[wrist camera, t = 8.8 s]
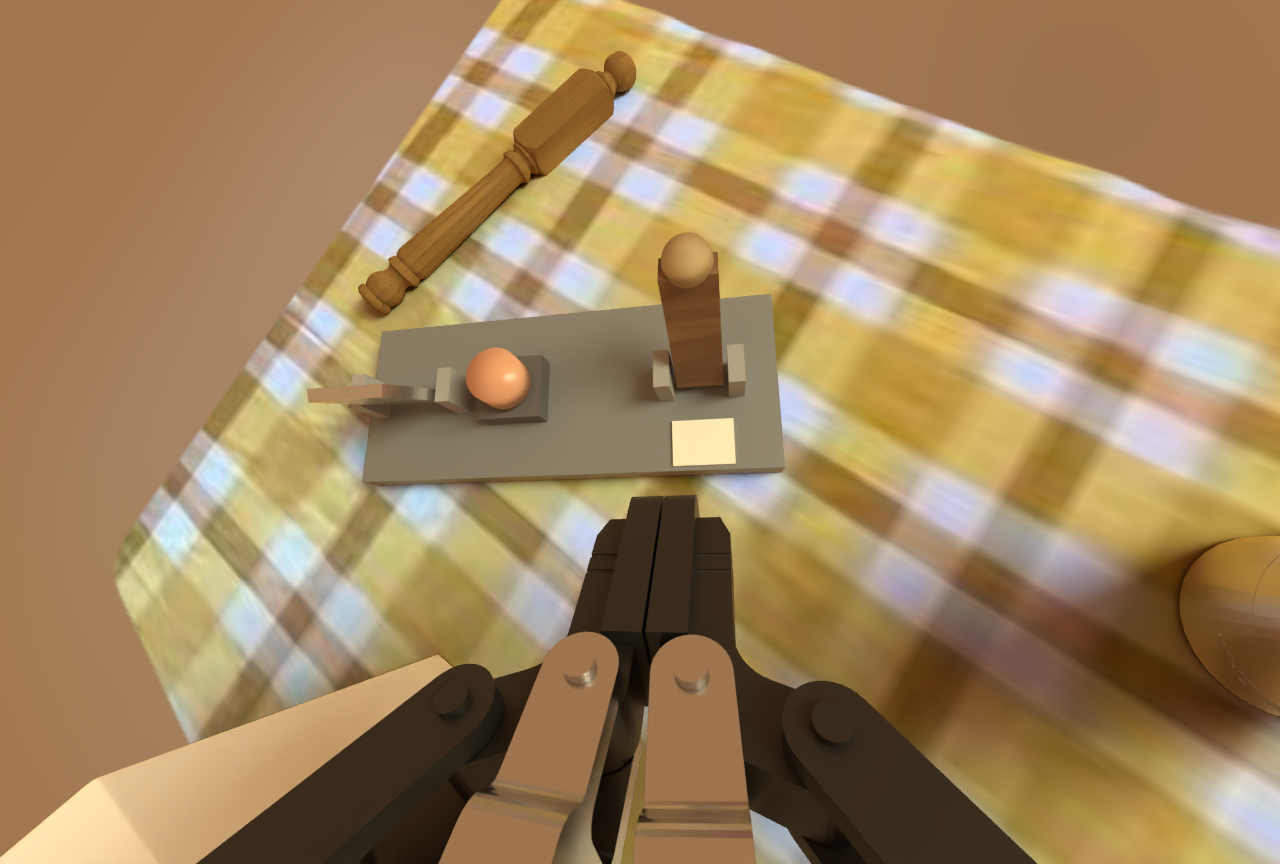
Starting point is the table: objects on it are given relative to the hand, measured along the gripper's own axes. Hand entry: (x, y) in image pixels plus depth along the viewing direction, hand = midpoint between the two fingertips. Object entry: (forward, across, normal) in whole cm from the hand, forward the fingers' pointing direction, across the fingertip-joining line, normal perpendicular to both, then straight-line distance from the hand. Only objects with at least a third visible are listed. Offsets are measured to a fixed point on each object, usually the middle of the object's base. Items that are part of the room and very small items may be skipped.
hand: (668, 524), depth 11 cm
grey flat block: (+20, +21, +6) cm, 30 cm away
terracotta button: (+19, +13, +5) cm, 24 cm away
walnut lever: (+21, 0, +6) cm, 22 cm away
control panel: (+22, +10, +8) cm, 26 cm away
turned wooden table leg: (+36, +16, -5) cm, 40 cm away
